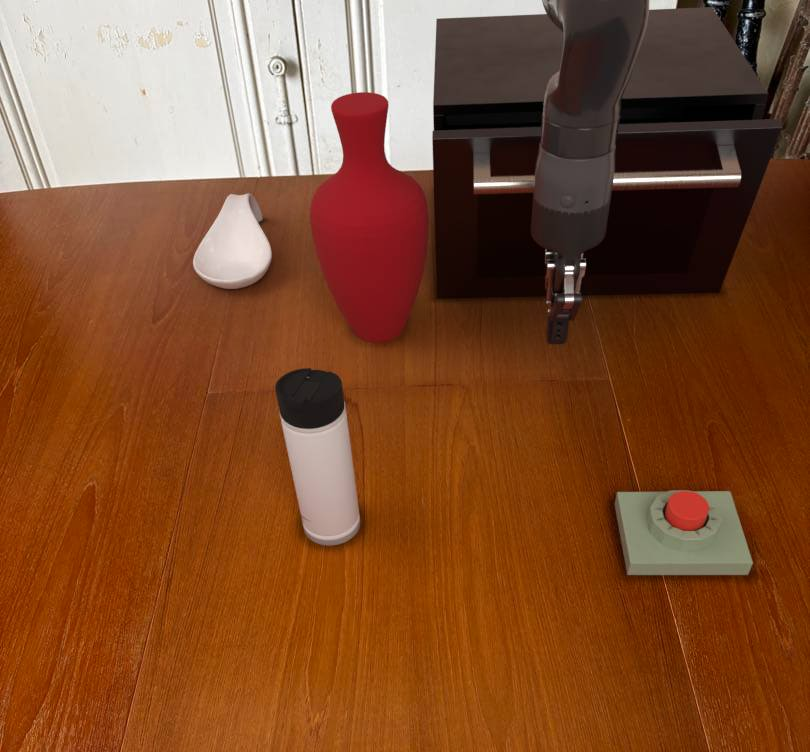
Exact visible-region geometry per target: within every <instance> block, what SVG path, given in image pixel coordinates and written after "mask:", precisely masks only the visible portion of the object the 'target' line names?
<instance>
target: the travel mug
mask: <svg viewBox="0 0 810 752" xmlns="http://www.w3.org/2000/svg"><path fill="white" fill-rule="evenodd" d="M274 390H275V395H276V401H277V404H278V405H277V406H278V411H279V417H280V421H281V422H280V423H281V427H282V432H283V437H284V442H285V446H286V451H287V455H288V460H289V465H290V470H291V474H292V480H293V483H294V485H293V486H294V490H295V494H296V498H297V504H298V509H299V513H300V517H301V523H302V528H303V532H304V534H305V536H307V538H308V539H309V540H310V541H312V542H313V543H315V544H318V545H321V546H327V547H328V546H338V545H341V544H344V543H346V542H348V541H350V540H351V539H352V538H354V537H355V536H356V534H357V533H358V532H359V530H360V527H361V515H360V508H359V507H360V506H359V499H358V492H357V485H356V484H357V483H356V476H355V469H354V460H353V454H352V446H351V445H352V444H351V438H350V431H349V423H348V415H347V407H346V402H345V397H344V389H343V381H342V379H341V377H340V376H339V375H338V374H337V373H335V372H332V371H330V370H328V371H327V370H324V369H323V370H322V369H312V368H311V367H307V368H305V367H303V368H298V369H294V370H291V371H289V372H287V373H284V375H283V374H282V376H280V377H279V378H278V380H277V381H276V383H275V386H274Z"/></svg>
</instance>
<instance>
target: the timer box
mask: <svg viewBox="0 0 810 752" xmlns="http://www.w3.org/2000/svg"><path fill="white" fill-rule="evenodd" d="M680 491H690V492H694V493H697V494H699V495H701V496H702V497H704V498H705V499H706V501H707V502H708V504H709V512H708V515H707V518H706V521H705V523H704V525H703V526H702V527H701V528H699V529H697V530H693V531H684V530H680V529H678V528H675V527H673V526H672V525H671V524H670V523H669V522H668V521H667V519H666V517H665V511H666V507H667V504H668V500H669V498H670V497H671V496H672V495H673V494H674V493H677V492H680ZM614 508H615V516H616V520H617V526H618V531H619V537H620V543H621V547H622V554H623V558H624V564H625V570H626V575H628V576H749V573H750V570H751V569H752V567H753V564H754V562H753V559H752V555H751V552H750V549H749V546H748V542H747V540H746V536H745V534H744V530H743V527H742V524H741V521H740V517H739V513H738V511H737V508H736V504H735V501H734V497H733V496H732V492H731V491H730V490H723V491H722V490H720V491H719V490H716V491H715V490H712V491H711V490H709V491H707V490H706V491H705V490H703V491H702V490H701V491H700V490H699V491H696V490H695V491H693V490H689V489H677V490H675V489H673V490H668V491H616V495H615V500H614Z"/></svg>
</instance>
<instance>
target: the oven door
mask: <svg viewBox="0 0 810 752" xmlns="http://www.w3.org/2000/svg"><path fill="white" fill-rule="evenodd" d="M782 130H783V125H782V122H781V119H780V118H769V119H768V118H767V119H761V120H735V121H706V122H676V123H646V124H619V127H618V134H617V141H616V149H615V173H614V180H613V187H612V194H611V200H610V207H609V214H608V221H607V227H606V234H605V237H604V239H603V240H602V242H601V243H600V244H598V245H597V246H596V247H594V248H592V249H589V250H587V251H585V252H584V253H583V259H586V270H585V275H584V277H583V278H582V280H581V287H580V293H581V294H582V297H587V296H589V297H590V296H591V297H593V296H634V295H635V296H637V295H640V296H641V295H643V296H644V295H682V294H683V295H684V294H690V295H691V294H720V293H721V291H722V287H723V285H724V282H725V280H726V277H727V274H728V272H729V269H730V266H731V263H732V261H733V259H734V257H735V256H734V255H735V253H736V251H737V247H738V245H739V243H740V240H741V238H742V234H743V232H744V230H745V227H746V224H747V223H748V222H747V221H748V219H749V216H750V214H751V211H752V208H753V206H754V203H755V201H756V199H757V196H758V193H759V190H760V187H761V185H762V182H763V180H764V177H765V175H766V172H767V169H768V167H769V164H770V161H771V160H772V156H773V153H774V151H775V148H776V146H777V143H778V140H779V137H780V135H781V133H782ZM431 133H432V135H431V136H432V138H431V139H432V140H431V141H432V174H433V175H432V177H433V209H434V210H433V215H434V243H435V244H434V246H435V247H434V248H435V249H434V251H435V278H436V279H435V281H436V285H435V286H436V300H444V299H445V300H446V299H450V300H451V299H452V300H453V299H490V298H491V299H493V298H494V299H495V298H497V299H498V298H532V297H533V298H538V297H539V298H540V297H541V298H542V297H546V298H547V296H546V290H545V282H544V280H545V268H546V264H545V260H544V251H545V248H544V247H542V246H540V245H539V244H538V243H536V242H535V240H534V239H533V237H532V235H531V218H532V205H533V192H534V178H535V167H536V161H537V156H538V151H539V146H540V136H541V127H527V128H498V129H468V130H438V131H434V130H432V132H431Z"/></svg>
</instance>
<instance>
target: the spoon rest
mask: <svg viewBox="0 0 810 752" xmlns="http://www.w3.org/2000/svg"><path fill="white" fill-rule="evenodd" d="M263 220H264V219H263V214H262V211H261V207H260V206H259V204H258V202H257V200H256V199H255V197H254V195H253V194H252V193H249V192H247V193H245V194H234V193H230V194H229V195H227V196H226V199H225V201H224V203H223V205H222V208H221V209H220V211H219V213H218V215H217V216H216V218H215V220H214V222H213V223H212V225H211V227H210V228H209V230H208V231H207V232H206V234H205V235H204V237H203V239H202V240H201V242H200V243H199V245H198V247H197V249H196V251H195V253H194V256H193V259H192V266H193V270H194V271H195V273H196V274H197V275H198V276H199V277H200V278H201V279H202V280H203V281H205V282H206V283H208V284H210V285H211V286H214V287H217V288H221V289H226V290H227V289H228V290H236V289H237V290H238V289H243V288H246V287H248V286H252V285H253V284H255V283H257V282H259V281H260V280H261V279H262V278H263V277H264V276H265V274H266V273H267V272H268V270H269V268H270V265H271V262H272V258H273V252H272V251H273V250H272V247H271V243H270V242H269V239H268V237H267V236H266V234H265V232H264V230H263V228H262V227H261V225H260V222H262V221H263Z"/></svg>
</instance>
